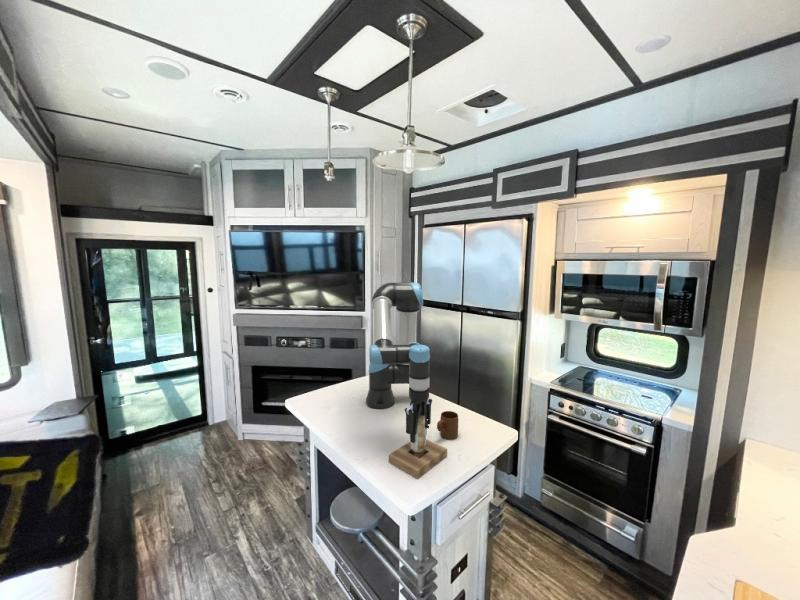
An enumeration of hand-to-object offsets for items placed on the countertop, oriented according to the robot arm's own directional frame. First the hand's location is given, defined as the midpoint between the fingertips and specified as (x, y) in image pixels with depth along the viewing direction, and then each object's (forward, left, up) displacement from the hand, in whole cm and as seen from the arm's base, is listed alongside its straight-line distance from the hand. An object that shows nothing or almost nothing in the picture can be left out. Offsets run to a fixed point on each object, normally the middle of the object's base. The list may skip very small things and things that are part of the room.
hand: (418, 446), depth 124 cm
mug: (-20, -1, -5) cm, 21 cm away
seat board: (0, 0, -5) cm, 5 cm away
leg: (0, 0, -4) cm, 4 cm away
